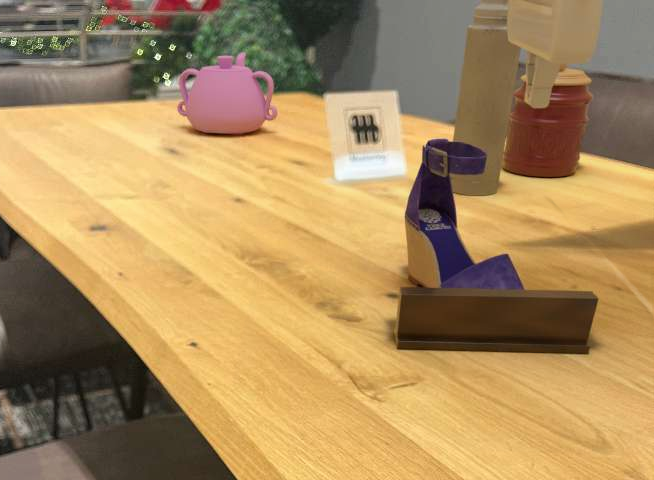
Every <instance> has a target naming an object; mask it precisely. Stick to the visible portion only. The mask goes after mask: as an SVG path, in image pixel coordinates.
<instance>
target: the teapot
mask: <svg viewBox="0 0 654 480" xmlns="http://www.w3.org/2000/svg"><path fill="white" fill-rule="evenodd" d="M246 57H247V53H246V52H245V51H242V52H239V54H237V56H236V60H235V57H234V56H233V55H218V56H216V60H217V63H218V65H207V66H203V67H201V68H200V69H199V70H198V69H196V68H187V69H185V70H184V71H183V72H182V73H181V74H180V75H179V79H178V85H179V86H178V87H179V91H180V95H181V97H182V100H181V101H179V102H178V104H177V107H176V109H177V113H178V114H179V115H180V116H182V117H186V119H187V120H188V122H189V124H191V126H192V127H193V128H194V129H195V130H197V131H199V132H202V133H203V134H231V135H232V136H233V135H234V136H242V135H244V133H250V132H255V131H258V130H259V129H261V127H262V126H263V124H264V123H265V122H266V121H269V122H270V121H274V120H276V118H277V117H278V109H277V106H275V105H271V104H272V99H273V95H274V90H275V84H274V80H273V78H272V76H271V74H269V73H268V72H266V71H264V70H263V71H262V70H257V71H254V72H253V70H252V69H251V68H250V67H248V66H246V65H245V62H246ZM234 60H235V62H234ZM233 63H235V64H234V65H233ZM189 75H192V76H196V77H195V79H194V80H193V83H192V84H191V88H190V89H189V92H188V90H187V85H186V79H187V77H188V76H189ZM257 78H263V79H265V81H266V82H267V93H266V96H265V93H264V91H263V89H262V87H261V84H260V83H259V81H258V79H257ZM183 106H184V109H185V110H184V109H183ZM270 110H271V111H272V114H270Z"/></svg>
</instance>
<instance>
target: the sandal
mask: <svg viewBox="0 0 654 480" xmlns="http://www.w3.org/2000/svg"><path fill="white" fill-rule="evenodd" d="M486 160H487V153H486V152H485V151H484V150H482V149H480V148H478V147H476V146H473V145H470V144H467V143H464V142H455V141H453V140H450V141H449V139H447V138H432V139H429V140H428V141H427V142H426V143H425V145H422V152H421V164H420V166H419V169H418V171H417V174H416V177H415V180H414V182H413V185H412V187H411V188H410V189H411V190H410V192H409V194H408V197H407V203H406V208H405V211H404V216H403V217H404V226H405V236H406V237H405V239H406V249H407V271H408V277H407V278H408V280H409V281H410V282H412V283H413V284H414V285H415V286H421V287H428V288H472V289H516V290H526V289H525V287H524V285H523V282H522V280H521V278H520V276H519V273H518V271H517V269H516V267H515V265H514V263H513V261H512V259H511V257H510V255H509V254H508V253H502V254H498V255H494V256H492V257H489V258H486V259H484V260H481V261H479V262H478V263H476V261H475V259H473V257H472V255H471V254H470V252H469V250H468V249H467V247H466V245H465V243H464V241H463V239H462V237H461V234H460V232H459V230H458V218H457V216H458V215H457V207H456V201H455V196H454V192H453V190H452V184H451V179H450V174H449V173H451V174H458V175H479V174H483V173H484V170H485V165H486ZM457 165H458V166H457Z"/></svg>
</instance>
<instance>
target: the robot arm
mask: <svg viewBox="0 0 654 480" xmlns="http://www.w3.org/2000/svg"><path fill="white" fill-rule="evenodd" d="M603 5H604V0H508V15H507V34H508V41H509V42H510V43H512V44H515V45H517V46H519V47H521V49H522V50H525V51H527V52H526V58H525V74H526V83H527V84H526V91H525V97H524V100H525V102H526V103H527V104H528V105H530V106H531V107H533V108H546V107H547V106H548V105H549V101H550V96H551V90H552V87H553V85H554V82H555V80H556V77H557V75H558V72H559V70H560V65H561V63H566V64H567V65H568V64H569V65H570V64H571V65H572V64H586V63H589V62H590V61H591V59H592V57H593V55H594V53H595V50H596V46H597V43H598V38H599V33H600V31H599V30H600V26H601V20H602V12H603Z"/></svg>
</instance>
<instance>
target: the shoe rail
mask: <svg viewBox="0 0 654 480" xmlns="http://www.w3.org/2000/svg"><path fill="white" fill-rule="evenodd" d="M398 290H399V291H398V299H397V300H398V301H397V310H396V321H395V325H394V327H393V328H394V329H393V333H394V339H395V344H396V349H398V350H434V351H435V350H436V351H437V350H439V351H473V352H475V351H476V352H512V353H514V352H516V353H550V354H555V353H557V354H589V353H590V350H591V344H590V343H589V338H590V334H591V330H592V326H593V322H594V319H595V314H596V311H597V307H598V302H599V297H598V296H597V295H596V293H595V292H594V291H592V290H557V289H556V290H554V289H551V290H550V289H525V290H516V289H472V288H428V287H423V286H421V287H419V286H399V289H398Z"/></svg>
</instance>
